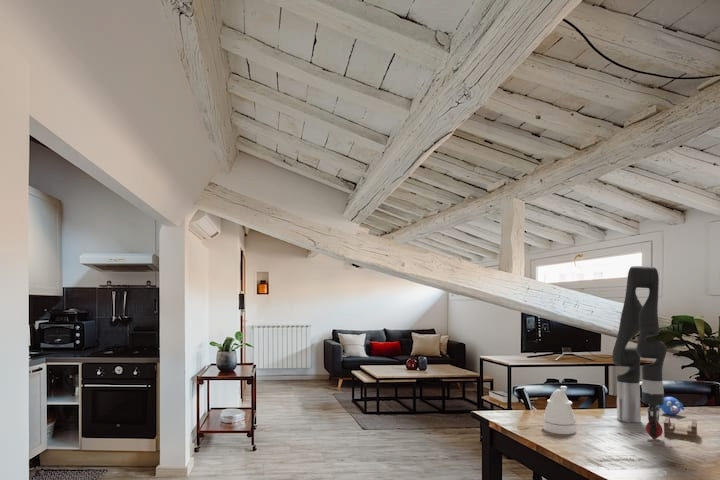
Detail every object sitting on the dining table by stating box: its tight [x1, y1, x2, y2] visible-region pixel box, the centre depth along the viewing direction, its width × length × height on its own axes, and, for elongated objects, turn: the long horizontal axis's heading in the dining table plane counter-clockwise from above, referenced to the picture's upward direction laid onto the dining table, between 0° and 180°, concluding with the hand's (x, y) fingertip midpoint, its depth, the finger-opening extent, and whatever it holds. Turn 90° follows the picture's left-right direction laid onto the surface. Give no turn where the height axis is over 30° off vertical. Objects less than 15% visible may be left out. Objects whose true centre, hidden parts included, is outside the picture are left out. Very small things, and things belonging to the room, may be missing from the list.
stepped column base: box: [663, 416, 698, 442], centre depth 216 cm, size 12×11×6 cm
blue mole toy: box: [657, 396, 685, 416], centre depth 253 cm, size 12×12×8 cm
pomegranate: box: [645, 421, 664, 440], centre depth 209 cm, size 6×6×8 cm
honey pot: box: [542, 385, 577, 435], centre depth 222 cm, size 13×13×18 cm
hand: (654, 434), depth 209 cm, fingers closed on pomegranate, 6 cm apart
